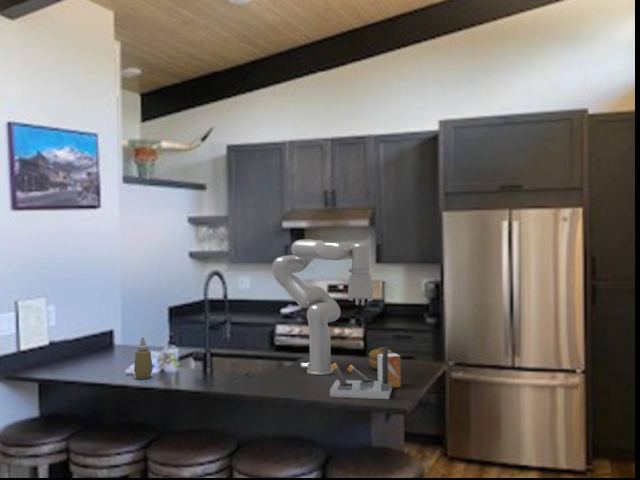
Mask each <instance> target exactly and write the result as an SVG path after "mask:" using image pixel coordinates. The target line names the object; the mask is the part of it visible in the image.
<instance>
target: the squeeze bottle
mask: <svg viewBox="0 0 640 480" xmlns="http://www.w3.org/2000/svg"><path fill="white" fill-rule="evenodd" d="M133 368H134V369H133V371H134V375H135V377H136V379H139V380H146V379H149V378H151V376H152V372H153V361H152V353H151V350H149V345H147V344H146V339H145V337H141V338H140V342H139V345H138V346H137V350H136V351H135V356H134V367H133Z"/></svg>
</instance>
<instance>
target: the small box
mask: <svg viewBox="0 0 640 480" xmlns="http://www.w3.org/2000/svg"><path fill="white" fill-rule="evenodd" d="M377 381H383V354H378V370H377ZM388 381H392V388H401V387H402V386H401V385H402V384H401V383H402V382H401V355H400V354H398V353H394V352H393V353H392V354H388Z"/></svg>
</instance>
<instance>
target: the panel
mask: <svg viewBox="0 0 640 480" xmlns="http://www.w3.org/2000/svg"><path fill="white" fill-rule="evenodd" d="M345 380H346V382H347V384H346V385H344V386H342V385H341V383H340V381H339V380H338V379H336V380H335V381H334V383H333V384H332V386H331V387H330V389H329V397H330V398H344V399H345V398H346V399H371V400H372V399H374V400H375V399H376V400H377V399H378V400H379V399H380V400H390V397H391V393H392V391H393V387H392V381H388V382H390V389H389V390H381V384H382V382H383V381H378V380H375V379H368V380H367V382H363V381H361V380H356V379H355V380H353V379H352V380H351V379H345Z"/></svg>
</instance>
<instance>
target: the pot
mask: <svg viewBox="0 0 640 480" xmlns="http://www.w3.org/2000/svg"><path fill="white" fill-rule="evenodd" d="M392 353H394V352H393V351H392V350H391V349H388V354H392ZM378 354H383V347H379V348H375V349H372V350H370V352H369V353H368V357H369V360H368V363H369V365H370V367H371V368H373V370H377V371H378Z"/></svg>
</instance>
